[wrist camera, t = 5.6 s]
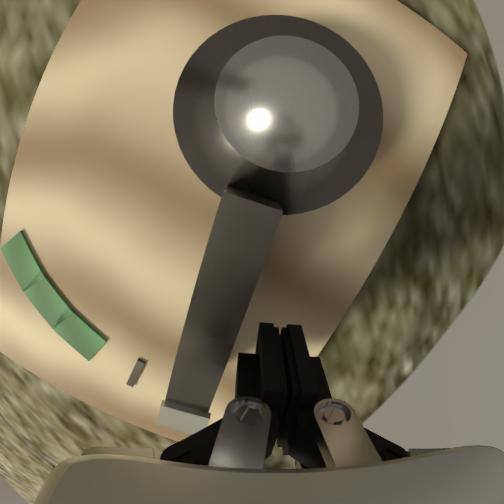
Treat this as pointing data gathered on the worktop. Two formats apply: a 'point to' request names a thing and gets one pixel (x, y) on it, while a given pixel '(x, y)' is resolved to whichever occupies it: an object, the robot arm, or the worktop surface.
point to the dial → (261, 170)
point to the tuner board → (185, 198)
